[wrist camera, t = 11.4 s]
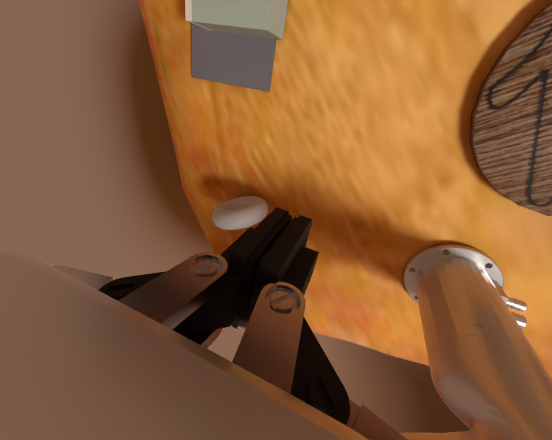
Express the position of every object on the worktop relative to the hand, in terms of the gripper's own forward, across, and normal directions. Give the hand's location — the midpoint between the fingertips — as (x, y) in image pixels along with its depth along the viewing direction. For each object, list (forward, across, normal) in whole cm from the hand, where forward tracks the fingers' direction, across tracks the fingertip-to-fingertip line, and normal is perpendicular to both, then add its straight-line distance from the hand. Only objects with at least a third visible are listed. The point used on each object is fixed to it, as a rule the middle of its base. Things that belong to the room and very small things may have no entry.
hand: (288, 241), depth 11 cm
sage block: (+26, +13, -14) cm, 33 cm away
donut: (+29, +15, +14) cm, 36 cm away
